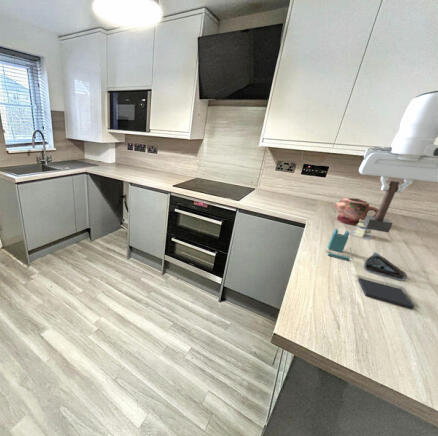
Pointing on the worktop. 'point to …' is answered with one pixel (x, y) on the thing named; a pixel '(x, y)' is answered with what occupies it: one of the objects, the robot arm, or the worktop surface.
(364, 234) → the stacked layers on plate
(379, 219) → the mallet
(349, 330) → the worktop surface
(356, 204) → the pink floral mug
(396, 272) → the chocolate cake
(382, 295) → the mat
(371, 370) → the worktop surface
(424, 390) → the worktop surface
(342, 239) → the rest
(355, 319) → the worktop surface
